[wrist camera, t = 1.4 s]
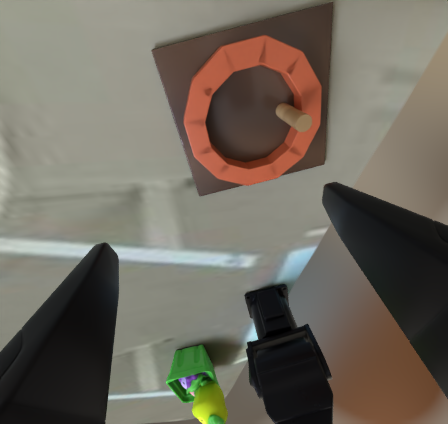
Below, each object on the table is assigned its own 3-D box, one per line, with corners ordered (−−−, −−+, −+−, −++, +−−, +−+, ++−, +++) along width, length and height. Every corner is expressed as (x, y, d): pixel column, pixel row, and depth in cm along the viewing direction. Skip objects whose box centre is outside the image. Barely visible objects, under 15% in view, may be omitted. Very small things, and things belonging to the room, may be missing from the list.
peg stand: (321, 162, 24) (350, 185, 19) (199, 193, 24) (202, 223, 20) (329, 2, 16) (377, -14, 12) (152, 49, 16) (141, 49, 12)
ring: (311, 160, 23) (318, 167, 21) (205, 188, 23) (206, 196, 21) (313, 21, 16) (324, 18, 15) (166, 60, 16) (164, 61, 15)
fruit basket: (166, 348, 41) (160, 434, 32) (214, 337, 41) (223, 420, 32) (183, 373, 47) (182, 450, 38) (225, 363, 48) (234, 438, 38)
